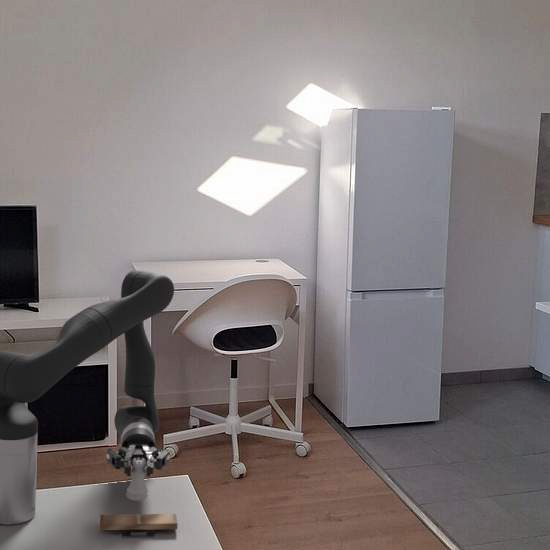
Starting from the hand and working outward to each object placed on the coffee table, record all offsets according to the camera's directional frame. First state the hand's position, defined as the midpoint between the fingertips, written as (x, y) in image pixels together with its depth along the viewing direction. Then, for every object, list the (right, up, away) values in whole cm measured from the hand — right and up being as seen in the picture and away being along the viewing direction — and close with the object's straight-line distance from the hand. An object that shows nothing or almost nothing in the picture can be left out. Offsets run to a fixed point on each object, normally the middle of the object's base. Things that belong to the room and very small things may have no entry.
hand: (139, 471), depth 169 cm
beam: (0, -9, -3) cm, 10 cm away
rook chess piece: (-1, -6, +4) cm, 7 cm away
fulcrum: (0, -11, -2) cm, 11 cm away
